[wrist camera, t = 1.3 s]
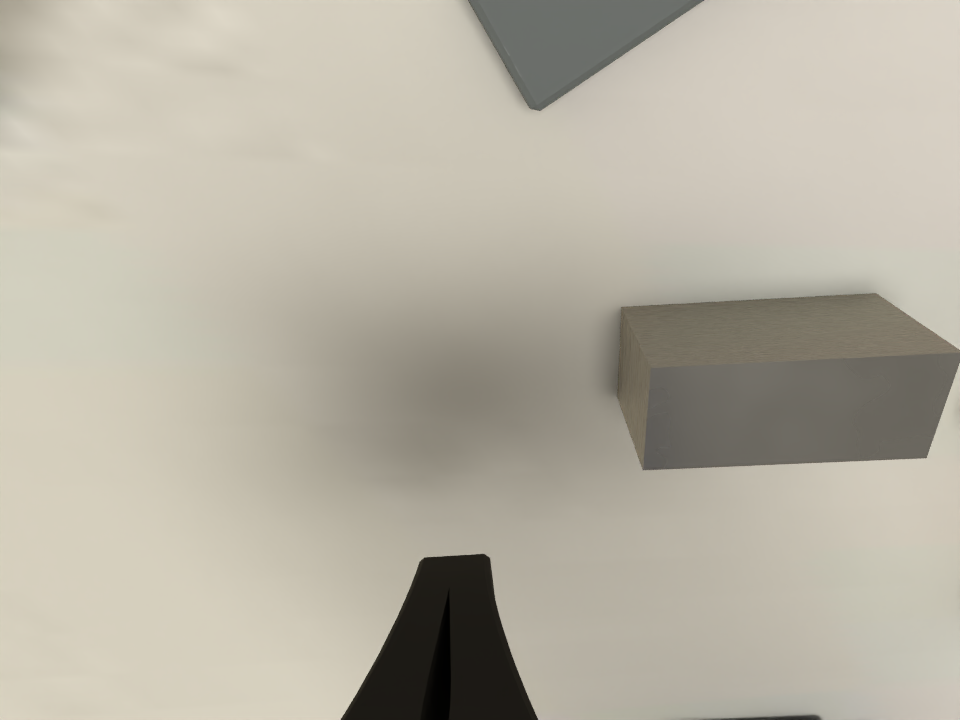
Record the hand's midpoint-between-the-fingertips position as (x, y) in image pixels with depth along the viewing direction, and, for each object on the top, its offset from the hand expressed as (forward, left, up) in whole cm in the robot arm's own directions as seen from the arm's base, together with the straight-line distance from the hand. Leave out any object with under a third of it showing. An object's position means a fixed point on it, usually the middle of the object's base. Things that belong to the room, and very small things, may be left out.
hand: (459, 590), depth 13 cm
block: (0, -9, -10) cm, 13 cm away
